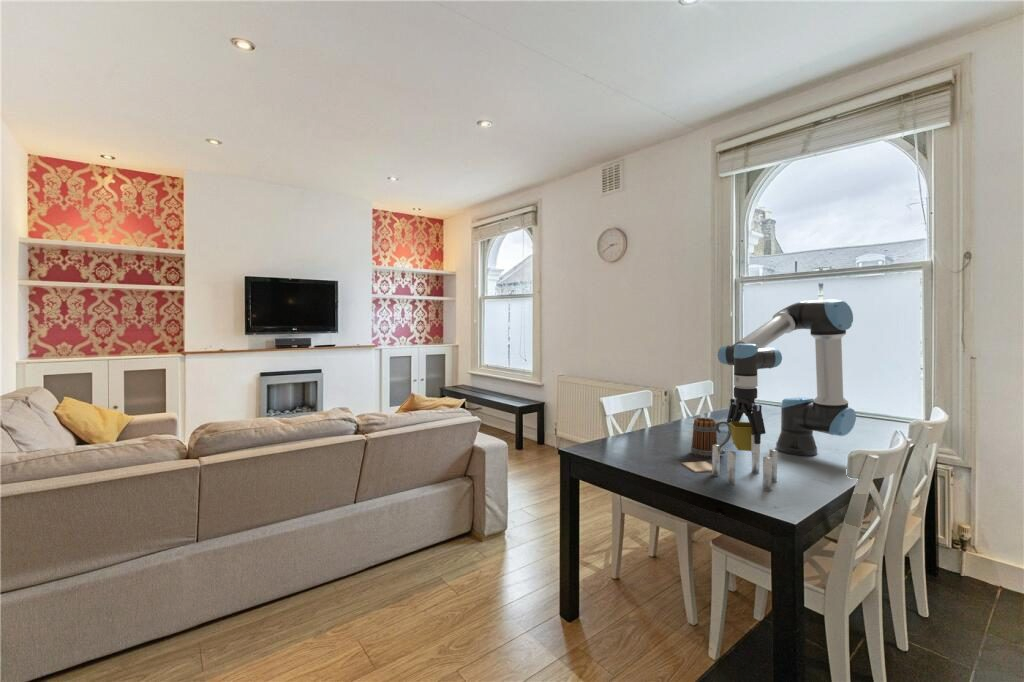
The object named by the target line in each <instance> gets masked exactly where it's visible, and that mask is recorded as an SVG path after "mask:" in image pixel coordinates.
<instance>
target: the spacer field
mask: <svg viewBox="0 0 1024 682" xmlns="http://www.w3.org/2000/svg"><path fill="white" fill-rule="evenodd" d="M720 451H721V449H720V445H719V444H718V443H717V444H713V452H712V458H711V459H712V460H711V461H712V463H711V465H712V473H711V475H712V476H714V477H715V476H716V477H720V475H721V474H720V473H721V472H720V471H721V469H720V467H721V466H720V465H721V463H720V461H721V454H720ZM760 455H761V452H760V453H751V473H752V474H755V475H758V474H760V462H761V461H760V460H761V459H760ZM736 457H737V455H736V451H731V450H729V451H727V463H726V464H727V465H726V467H727V469H726V471H727V472H726V484H728V485H731V486H734V485H736ZM762 461H763V462H762V490H763V491H764V492H768V493H769V492H772V483H777V481H778V480H777V479H778V476H777V475H778V450H777V449H776V448H775V449H773V448H770V449H769V451H768V456H763V460H762Z"/></svg>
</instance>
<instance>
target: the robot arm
mask: <svg viewBox="0 0 1024 682" xmlns="http://www.w3.org/2000/svg"><path fill="white" fill-rule="evenodd" d="M853 321H854V313H853V311H852V307H851V306H850V305H849V304H848V303H847V302H846V301H844V300H841V299H821V300H820V299H819V300H802V301H797V302H795V303H792V304H790V305H788V306H786V307H784V308H783V309H781V310H779V311H777V312H776V313H774V314H773V315H772V318H771V319H769V321H767V322H765V323H764V324H763V325H760V326H759V327H758V328H757V329H755V330H754V331H752V332H750V333H749V334H747V335H746V336H745V337H742V338H741V339H740V340H738V341H737V342H735V343H734V344H731V345H728V344H727V345H722V346H721V347H720V348H719V349H718V350H717V360H718V361H719V363H720V364H722V365H728V366H733V371H734V372H733V385H734V387H733V397H734V398H730V400H729V401H730V405H729V411H728V414H727V419H726V422H727V423H729V424H730V422H741V418H742V416H743V415H745V417H747V419H748V422H749V423H750V425H751V428H752V431H753V433H752V434H751V451H750V453H751V454H752V453H760V454H761V452H760V451H761V438H762V437H761V436H762V435H765V434H767V433H766V427H765V424H764V423H765V422H764V417H763V412H762V409H763V408H762V404H756V402H755V400H756V399H758V388H757V387H758V370H763V369H764V370H765V369H772V368H777V367H778V366H780V365H781V364H782V361H783V356H782V353H781V351H780V350H779V349H778V348H776V347H768V345H770V344H772V343H773V342H775V341H776V340H777V339H779V338H780V337H782V336H783V335H784V334H790V333H793V331H797V330H810V336H812V338H814V341H815V342H814V343H815V344H814V345H815V346H814V347H815V369H816V370H815V371H816V397H815V398H812V397H787V398H783V400H782V402H781V407H780V409H781V414H780V416H781V417H780V423H781V425H780V433H779V435H778V438H777V441H776V443H775V450H777V451H778V452H782V453H786V454H788V455H789V454H790V455H795V456H805V457H806V456H815V455H817V454H818V447H817V445H816V441H815V437H814V433H813V432H819V433H823V434H828V435H830V436H839V437H844V436H846V435H848V434H850V432H851V431H852V430H853V428H854V427H855V424H856V421H857V413H856V411H855V409H853V408H852V407H849V401H848V400H847V399H846V398H844V384H843V382H844V380H843V376H844V373H843V350H842V348H843V345H842V342H843V341H842V338H843V337H844V336H845V335H846V334H847V331H848V330H849V329H851V327H852V326H853V324H852V323H853ZM730 439H731V440H730V441H731V445H735V444H734V442H733V440H732V437H730Z"/></svg>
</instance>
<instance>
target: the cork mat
mask: <svg viewBox="0 0 1024 682" xmlns="http://www.w3.org/2000/svg"><path fill="white" fill-rule="evenodd" d="M681 465H683V466H684V467H686V468H688V469H689V470H691V471H692V472H693V473H711V472H712V463H709V462H707V461H705V460H704V461H690V462H689V461H687V462H681Z"/></svg>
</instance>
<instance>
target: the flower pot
mask: <svg viewBox="0 0 1024 682" xmlns="http://www.w3.org/2000/svg"><path fill="white" fill-rule="evenodd" d="M729 424H730V429H731V437H732V440H733V442H734V444H733V445H734V447H735V448H736V449H737V450H738V451H744V452H751V434H752V433H753V431H752V428H751V425H750V423H749V421H747V422H746V421H739V422H730V423H729ZM731 437H730V438H731Z"/></svg>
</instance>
